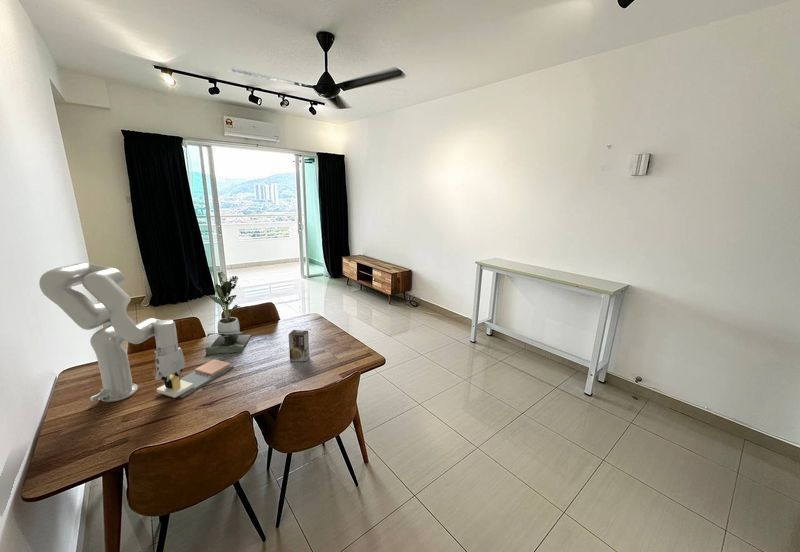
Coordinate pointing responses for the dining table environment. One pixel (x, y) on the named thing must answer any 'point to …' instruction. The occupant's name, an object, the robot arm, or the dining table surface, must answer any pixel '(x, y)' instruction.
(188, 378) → the board
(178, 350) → the robot arm
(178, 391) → the butter dish
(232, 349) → the potted plant
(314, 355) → the dining table surface
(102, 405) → the dining table surface
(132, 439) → the dining table surface
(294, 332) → the coffee box
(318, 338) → the dining table surface
